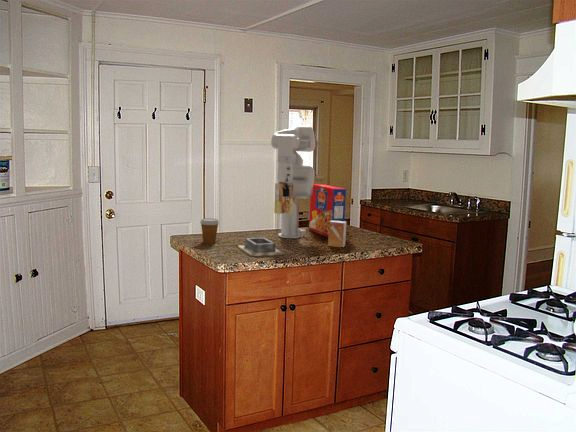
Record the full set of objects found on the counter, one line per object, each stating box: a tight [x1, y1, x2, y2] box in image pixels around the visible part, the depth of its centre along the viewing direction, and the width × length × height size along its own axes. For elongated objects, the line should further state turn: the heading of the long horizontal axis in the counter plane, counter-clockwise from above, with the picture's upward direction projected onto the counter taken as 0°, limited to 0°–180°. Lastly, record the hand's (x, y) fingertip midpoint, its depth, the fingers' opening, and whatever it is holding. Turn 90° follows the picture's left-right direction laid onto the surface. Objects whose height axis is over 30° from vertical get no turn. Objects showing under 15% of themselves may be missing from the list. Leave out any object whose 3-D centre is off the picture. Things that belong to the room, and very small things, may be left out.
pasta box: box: [308, 183, 347, 238], centre depth 322 cm, size 28×8×28 cm, turn 24°
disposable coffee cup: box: [200, 217, 220, 245], centre depth 284 cm, size 10×10×12 cm
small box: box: [327, 220, 348, 248], centre depth 288 cm, size 8×6×13 cm
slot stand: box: [237, 237, 283, 257], centre depth 269 cm, size 16×20×5 cm
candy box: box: [273, 182, 293, 215], centre depth 279 cm, size 9×4×15 cm, turn 127°
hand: (283, 195), depth 279 cm, fingers closed on candy box, 5 cm apart
